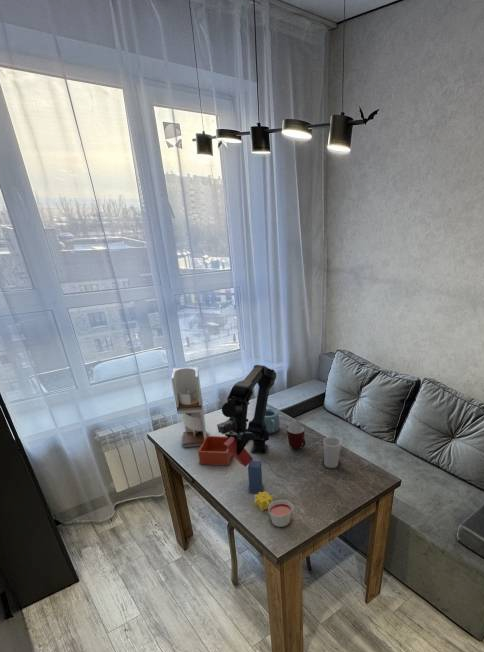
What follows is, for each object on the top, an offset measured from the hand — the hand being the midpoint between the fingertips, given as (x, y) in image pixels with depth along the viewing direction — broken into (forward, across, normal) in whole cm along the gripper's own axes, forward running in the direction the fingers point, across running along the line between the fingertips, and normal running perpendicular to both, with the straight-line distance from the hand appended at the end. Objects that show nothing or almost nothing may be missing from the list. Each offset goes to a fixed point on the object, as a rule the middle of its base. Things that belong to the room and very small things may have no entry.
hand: (235, 453), depth 162 cm
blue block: (+13, +8, +6) cm, 17 cm away
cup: (+3, +13, +42) cm, 44 cm away
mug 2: (0, -6, +36) cm, 36 cm away
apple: (0, -32, +17) cm, 36 cm away
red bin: (+7, -22, +3) cm, 23 cm away
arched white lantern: (+3, -40, 0) cm, 41 cm away
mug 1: (-4, -26, +33) cm, 42 cm away
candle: (+19, +29, +6) cm, 35 cm away
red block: (+4, 0, +6) cm, 7 cm away
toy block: (+17, +19, +5) cm, 26 cm away
